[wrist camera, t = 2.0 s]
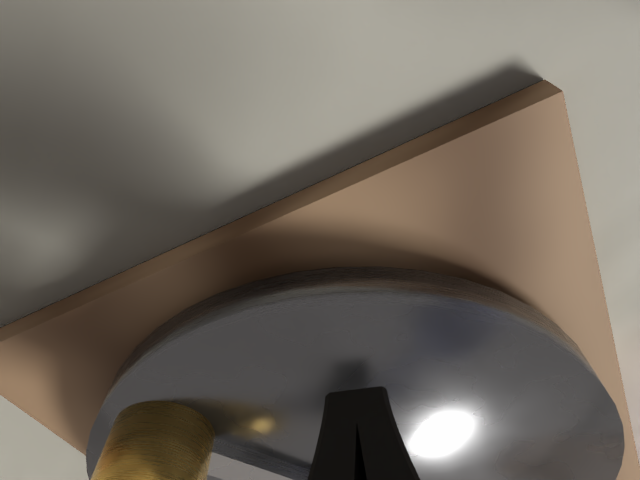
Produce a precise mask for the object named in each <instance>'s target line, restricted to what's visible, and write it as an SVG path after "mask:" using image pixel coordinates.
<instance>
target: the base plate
mask: <svg viewBox="0 0 640 480" xmlns="http://www.w3.org/2000/svg"><path fill="white" fill-rule="evenodd" d="M372 266H382V267H393V268H403V269H414V270H424V271H429V272H434V273H438V274H443V275H448V276H453V277H458V278H462V279H466V280H469V281H472V282H475V283H478V284H481V285H484V286H487V287H490V288H493V289H496V290H499V291H501V292H503V293H505V294H507V295H509V296H511V297H513V298H515V299H517V300H519V301H521V302H523V303H526V304H528V305H530V306H531V307H533V308H534V309H536V310H537V311H539V312H540V313H542V314H543V315H544V316H546V317H547V318H549V319H550V320H552V321H553V322H554V323H556V324H557V325H558V326H559V327H560V328H561V329H562V330H563V331H564V332H565V333H566V334H567V335H568V336H569V337H570V338H571V339H572V340H573V341H574V342H575V343H576V344H577V345H578V347H579V348H580V350H581V351H582V353H583V354H584V356H585V357H586V359H587V360H588V362H589V363H590V365H591V367H592V368H593V370H594V371H595V373H596V374H597V376H598V378H599V379H600V381H601V382H602V384H603V386H604V387H605V389H606V390H607V392H608V393H609V395H610V397H611V398H612V400H613V401H614V403H615V405H616V407H617V410H618V413H619V416H620V418H621V421H622V424H623V431H624V442H625V448H624V454H623V460H622V466H621V468H620V471H619V473H618V476H617V478H616V480H640V466H639V461H638V456H637V451H636V446H635V441H634V437H633V432H632V427H631V422H630V417H629V412H628V407H627V402H626V398H625V393H624V388H623V383H622V378H621V373H620V368H619V363H618V358H617V354H616V349H615V344H614V339H613V334H612V329H611V324H610V319H609V314H608V310H607V305H606V300H605V295H604V290H603V285H602V280H601V275H600V270H599V266H598V261H597V256H596V251H595V246H594V241H593V236H592V231H591V226H590V222H589V217H588V212H587V207H586V202H585V197H584V192H583V187H582V182H581V178H580V173H579V168H578V163H577V158H576V153H575V148H574V143H573V138H572V134H571V129H570V124H569V119H568V114H567V109H566V104H565V99H564V94H563V91H562V90H560V89H559V88H557V87H556V86H554V85H553V84H551V83H549V82H548V81H546V80H543V81H540V82H538V83H536V84H534V85H532V86H529V87H527V88H525V89H523V90H521V91H518V92H516V93H514V94H512V95H510V96H508V97H505V98H503V99H501V100H499V101H497V102H494V103H492V104H490V105H488V106H486V107H483V108H481V109H479V110H477V111H475V112H472V113H470V114H468V115H466V116H464V117H461V118H459V119H457V120H455V121H453V122H451V123H448V124H446V125H444V126H442V127H440V128H437V129H435V130H433V131H431V132H429V133H426V134H424V135H422V136H420V137H418V138H415V139H413V140H411V141H409V142H407V143H405V144H402V145H400V146H398V147H396V148H394V149H391V150H389V151H387V152H385V153H383V154H380V155H378V156H376V157H374V158H372V159H369V160H367V161H365V162H363V163H361V164H359V165H356V166H354V167H352V168H350V169H348V170H345V171H343V172H341V173H339V174H337V175H334V176H332V177H330V178H328V179H326V180H323V181H321V182H319V183H317V184H315V185H312V186H310V187H308V188H306V189H304V190H302V191H299V192H297V193H295V194H293V195H291V196H288V197H286V198H284V199H282V200H280V201H277V202H275V203H273V204H271V205H269V206H266V207H264V208H262V209H260V210H258V211H256V212H253V213H251V214H249V215H247V216H245V217H242V218H240V219H238V220H236V221H234V222H231V223H229V224H227V225H225V226H223V227H220V228H218V229H216V230H214V231H212V232H210V233H207V234H205V235H203V236H201V237H199V238H196V239H194V240H192V241H190V242H188V243H185V244H183V245H181V246H179V247H177V248H174V249H172V250H170V251H168V252H166V253H163V254H161V255H159V256H157V257H155V258H153V259H150V260H148V261H146V262H144V263H142V264H139V265H137V266H135V267H133V268H131V269H128V270H126V271H124V272H122V273H120V274H117V275H115V276H113V277H111V278H109V279H107V280H104V281H102V282H100V283H98V284H96V285H93V286H91V287H89V288H87V289H85V290H82V291H80V292H78V293H76V294H74V295H71V296H69V297H67V298H65V299H63V300H61V301H58V302H56V303H54V304H52V305H50V306H47V307H45V308H43V309H41V310H39V311H36V312H34V313H32V314H30V315H28V316H25V317H23V318H21V319H19V320H17V321H14V322H12V323H10V324H8V325H6V326H4V327H1V328H0V395H2V396H3V397H4V398H6V399H7V400H9V401H10V402H11V403H13V404H14V405H16V406H17V407H18V408H20V409H21V410H23V411H24V412H25V413H27V414H28V415H30V416H31V417H32V418H34V419H35V420H37V421H38V422H40V423H41V424H42V425H44V426H45V427H47V428H48V429H49V430H51V431H52V432H54V433H55V434H56V435H58V436H59V437H61V438H62V439H63V440H65V441H66V442H68V443H69V444H70V445H72V446H73V447H75V448H76V449H77V450H79V451H80V452H82V453H83V454H84V455H86V449H87V445H88V440H89V435H90V431H91V428H92V426H93V424H94V422H95V420H96V417H97V415H98V413H99V411H100V409H101V406H102V404H103V402H104V400H105V397H106V395H107V393H108V391H109V389H110V387H111V385H112V382H113V380H114V378H115V376H116V374H117V372H118V370H119V368H120V367H121V366H122V364H123V363H124V362H125V360H126V359H127V358H128V356H129V355H130V354H131V352H132V351H133V350H134V348H135V347H136V346H138V345H139V344H140V343H141V342H142V341H143V340H144V339H145V338H146V337H147V336H148V335H149V334H150V333H152V332H153V331H154V330H155V329H156V328H157V327H159V326H160V325H162V324H163V323H165V322H166V321H168V320H169V319H171V318H172V317H174V316H175V315H177V314H178V313H180V312H181V311H183V310H184V309H186V308H188V307H190V306H193V305H195V304H197V303H199V302H201V301H203V300H205V299H207V298H209V297H211V296H213V295H215V294H217V293H220V292H223V291H226V290H229V289H232V288H235V287H238V286H241V285H243V284H246V283H249V282H252V281H256V280H260V279H265V278H269V277H274V276H278V275H282V274H287V273H291V272H297V271H306V270H315V269H323V268H332V267H372Z"/></svg>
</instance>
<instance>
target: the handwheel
mask: <svg viewBox="0 0 640 480" xmlns="http://www.w3.org/2000/svg"><path fill="white" fill-rule="evenodd" d="M378 386H382V387H384V388H386V389H387V393H388V398H389V402H390V405H391V409H392V412H393V415H394V418H395V421H396V424H397V427H398V429H399V432H400V434H401V437H402V440H403V442H404V445H405V447H406V449H407V452H408V454H409V456H410V458H411V461H412V463H413V465H414V467H415V469H416V471H417V473H418V476H419V478H420V480H616V478H617V476H618V473H619V471H620V468H621V466H622V460H623V454H624V448H625V442H624V431H623V424H622V421H621V418H620V416H619V413H618V410H617V407H616V405H615V403H614V401H613V400H612V398H611V397H610V395H609V393H608V392H607V390H606V389H605V387H604V386H603V384H602V382H601V381H600V379H599V378H598V376H597V374H596V373H595V371H594V370H593V368H592V367H591V365H590V363H589V362H588V360H587V359H586V357H585V356H584V354H583V353H582V351H581V350H580V348H579V347H578V345H577V344H576V343H575V342H574V341H573V340H572V339H571V338H570V337H569V336H568V335H567V334H566V333H565V332H564V331H563V330H562V329H561V328H560V327H559V326H558V325H557V324H556V323H554V322H553V321H552V320H550V319H549V318H547V317H546V316H544V315H543V314H542V313H540V312H539V311H537V310H536V309H534V308H533V307H531V306H530V305H528V304H526V303H523V302H521V301H519V300H517V299H515V298H513V297H511V296H509V295H507V294H505V293H503V292H501V291H499V290H496V289H493V288H490V287H487V286H484V285H481V284H478V283H475V282H472V281H469V280H466V279H462V278H458V277H453V276H448V275H443V274H438V273H434V272H429V271H424V270H414V269H403V268H393V267H382V266H372V267H332V268H323V269H315V270H306V271H297V272H291V273H287V274H282V275H278V276H274V277H269V278H265V279H260V280H256V281H252V282H249V283H246V284H243V285H241V286H238V287H235V288H232V289H229V290H226V291H223V292H220V293H217V294H215V295H213V296H211V297H209V298H207V299H205V300H203V301H201V302H199V303H197V304H195V305H193V306H190V307H188V308H186V309H184V310H183V311H181V312H180V313H178V314H177V315H175V316H174V317H172V318H171V319H169V320H168V321H166V322H165V323H163V324H162V325H160V326H159V327H157V328H156V329H155V330H154V331H153V332H152V333H150V334H149V335H148V336H147V337H146V338H145V339H144V340H143V341H142V342H141V343H140V344H139V345H138V346H136V347H135V348H134V350H133V351H132V352H131V354H130V355H129V356H128V358H127V359H126V360H125V362H124V363H123V364H122V366H121V367H120V368H119V370H118V372H117V374H116V376H115V378H114V380H113V382H112V385H111V387H110V389H109V391H108V393H107V395H106V397H105V400H104V402H103V404H102V406H101V409H100V411H99V413H98V415H97V417H96V420H95V422H94V424H93V426H92V428H91V431H90V435H89V440H88V445H87V449H86V462H87V473H88V477H89V480H307V479H308V475H309V472H310V468H311V465H312V461H313V458H314V454H315V450H316V445H317V441H318V437H319V432H320V428H321V423H322V417H323V411H324V404H325V396H326V395H327V394H328V393H330V392H338V391H346V390H354V389H362V388H370V387H378Z"/></svg>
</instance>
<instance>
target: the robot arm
mask: <svg viewBox="0 0 640 480" xmlns="http://www.w3.org/2000/svg"><path fill="white" fill-rule="evenodd" d="M307 480H420V478H419V476H418V473H417V471H416V469H415V467H414V465H413V463H412V461H411V458H410V456H409V454H408V452H407V449H406V447H405V445H404V442H403V440H402V437H401V434H400V432H399V429H398V427H397V424H396V421H395V418H394V415H393V412H392V409H391V405H390V402H389V398H388V393H387V389H386V388H384V387H382V386H378V387H370V388H362V389H354V390H346V391H338V392H330V393H328V394H327V395H326V396H325V404H324V411H323V417H322V423H321V428H320V432H319V437H318V441H317V445H316V450H315V454H314V458H313V461H312V465H311V468H310V472H309V475H308V479H307Z"/></svg>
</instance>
